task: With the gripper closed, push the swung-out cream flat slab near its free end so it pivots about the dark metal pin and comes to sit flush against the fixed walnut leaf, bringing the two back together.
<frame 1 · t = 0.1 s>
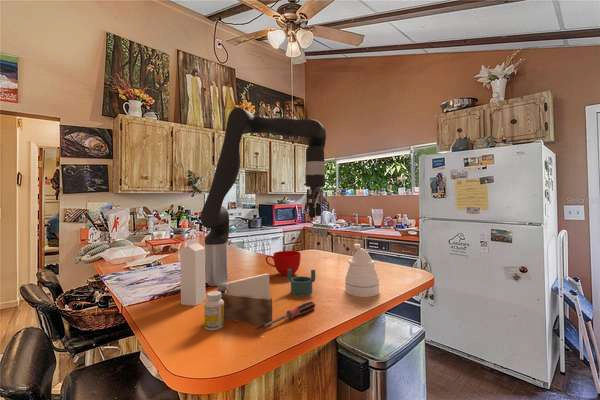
hand: (315, 216, 111), 29 cm above the kitchen island, tool pointing down, fingers open, 8 cm apart
milk: (193, 302, 103), on the kitchen island
walnut leaf: (222, 314, 92), on the kitchen island
cream flat slab: (244, 292, 97), point 5 cm above the kitchen island, hinge at 62.0°
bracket: (301, 292, 113), on the kitchen island
ceramic cup: (283, 274, 139), on the kitchen island
screwdriver: (287, 321, 87), on the kitchen island
supplement bottle: (214, 327, 83), on the kitchen island
honey pot: (362, 291, 113), on the kitchen island
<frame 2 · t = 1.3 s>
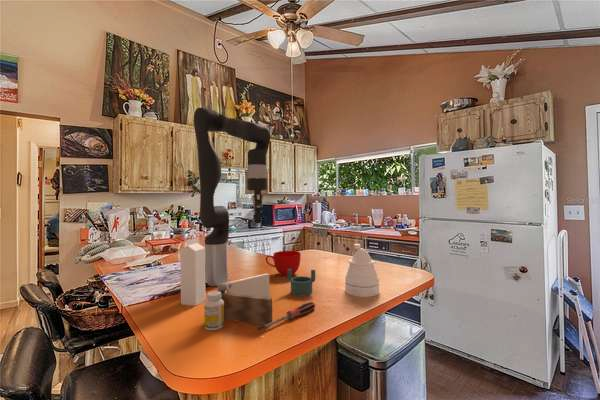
hand: (257, 222, 109), 28 cm above the kitchen island, tool pointing down, fingers open, 6 cm apart
nothing on the kitchen island moved.
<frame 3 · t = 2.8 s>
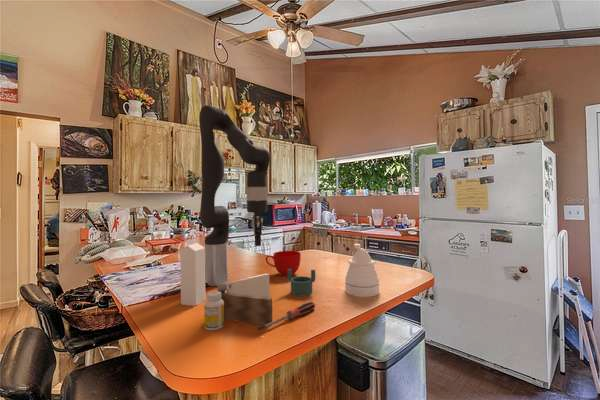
hand: (257, 245, 109), 19 cm above the kitchen island, tool pointing down, fingers closed
nothing on the kitchen island moved.
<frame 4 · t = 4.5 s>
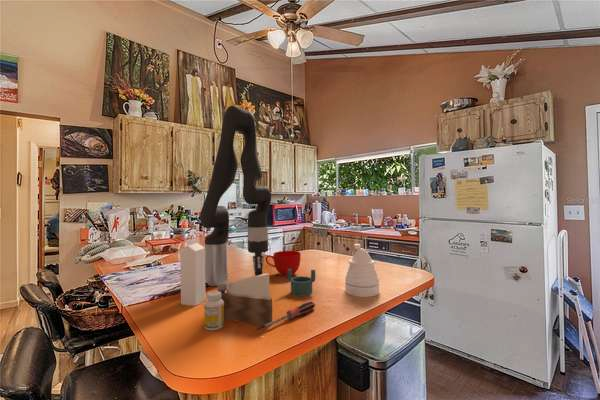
hand: (258, 285, 109), 4 cm above the kitchen island, tool pointing down, fingers closed
nothing on the kitchen island moved.
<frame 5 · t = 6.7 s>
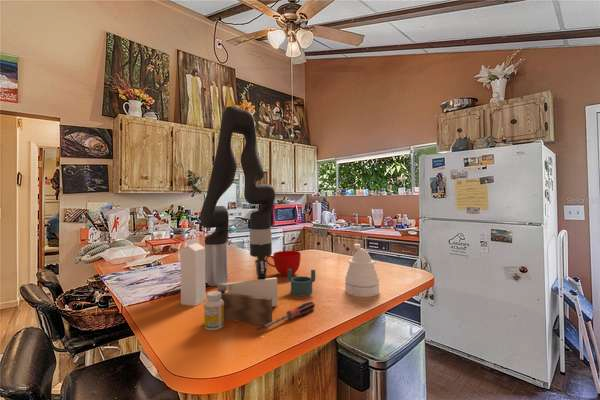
hand: (261, 291, 101), 4 cm above the kitchen island, tool pointing down, fingers closed
cream flat slab: (248, 295, 95), point 5 cm above the kitchen island, hinge at 40.6°, touching hand
everything else where it was.
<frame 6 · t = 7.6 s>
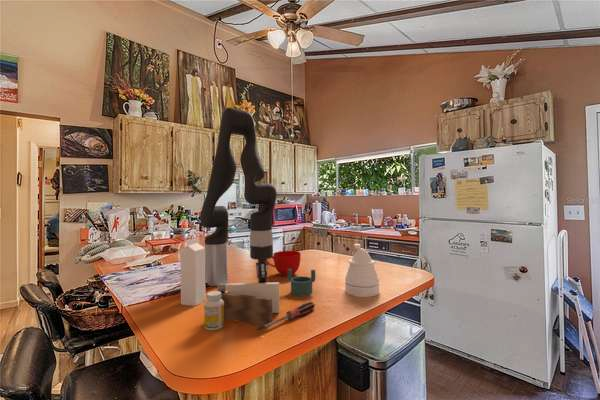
hand: (262, 295, 97), 4 cm above the kitchen island, tool pointing down, fingers closed
cream flat slab: (248, 298, 92), point 5 cm above the kitchen island, hinge at 21.6°, touching hand
everything else where it was.
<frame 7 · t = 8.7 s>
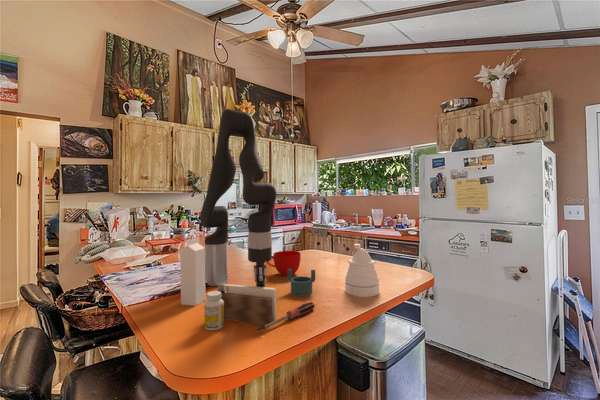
hand: (260, 299, 93), 4 cm above the kitchen island, tool pointing down, fingers closed
cream flat slab: (245, 301, 89), point 5 cm above the kitchen island, hinge at 2.5°, touching hand
everything else where it was.
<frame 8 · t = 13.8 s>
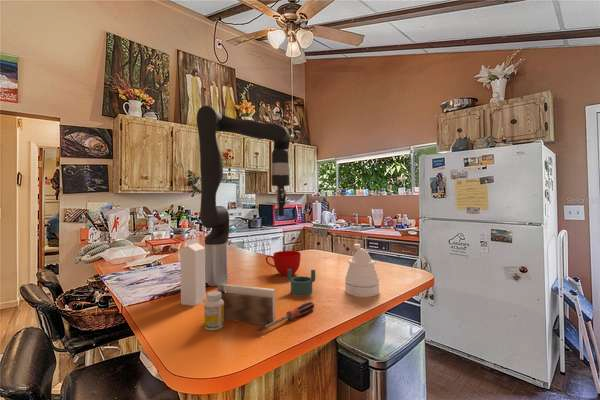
hand: (280, 215, 122), 29 cm above the kitchen island, tool pointing down, fingers closed
cream flat slab: (245, 301, 89), point 5 cm above the kitchen island, hinge at -0.2°
everything else where it was.
at the end: cream flat slab at +0° (first picture: +62°) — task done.
